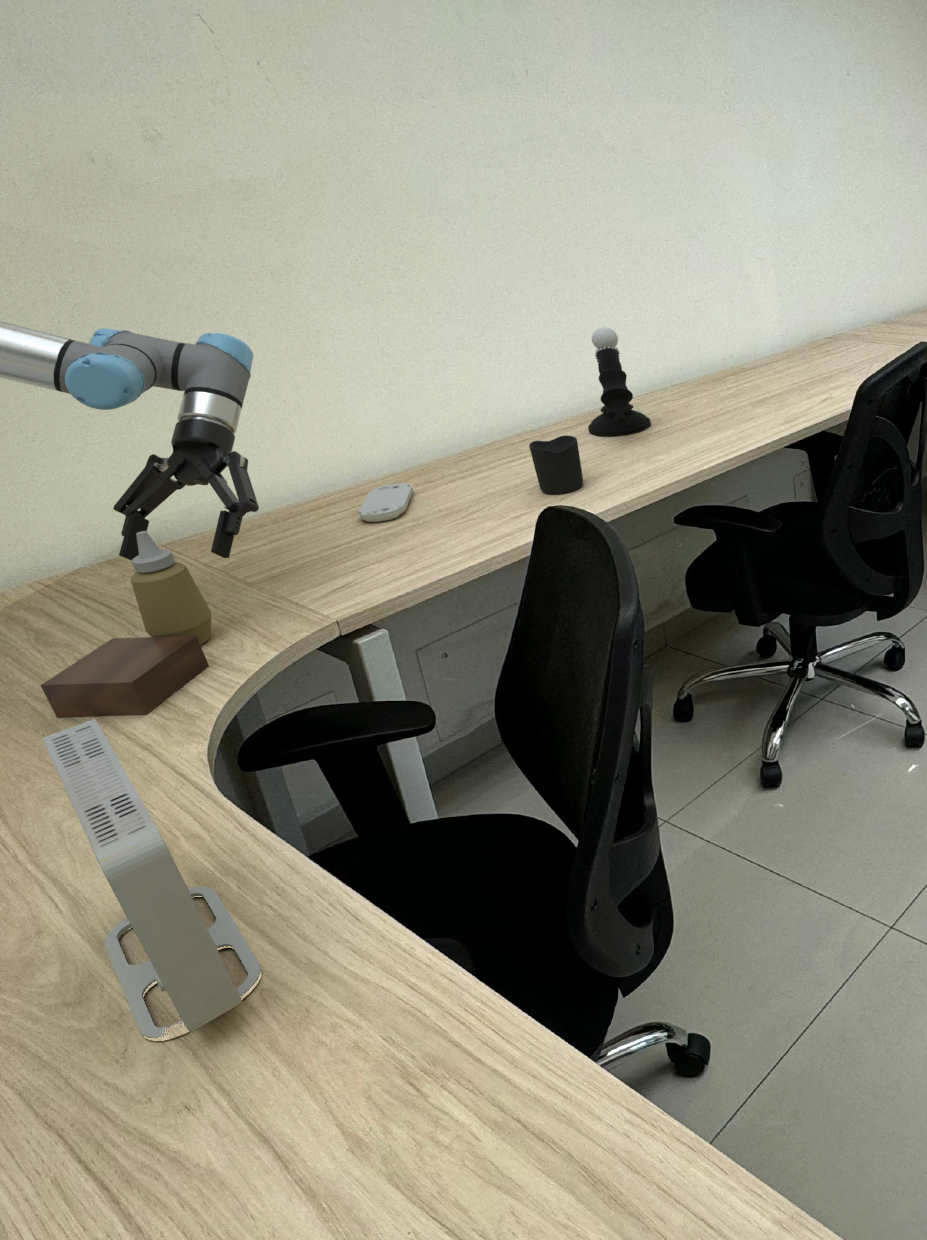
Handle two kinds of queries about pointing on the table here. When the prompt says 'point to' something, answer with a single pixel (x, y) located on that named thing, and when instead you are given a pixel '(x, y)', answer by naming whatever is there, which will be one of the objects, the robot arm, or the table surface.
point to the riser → (125, 676)
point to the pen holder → (557, 464)
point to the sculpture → (614, 391)
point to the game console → (385, 502)
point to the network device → (148, 890)
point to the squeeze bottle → (168, 594)
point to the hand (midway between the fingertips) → (174, 556)
